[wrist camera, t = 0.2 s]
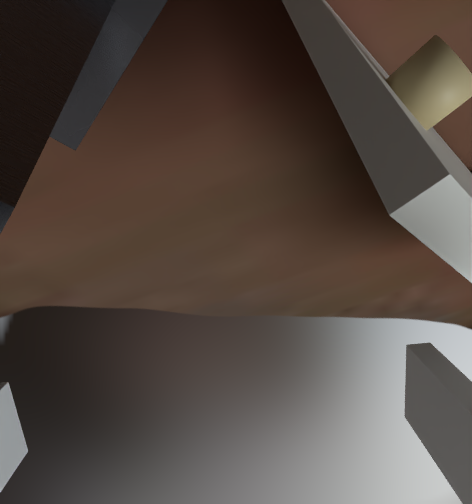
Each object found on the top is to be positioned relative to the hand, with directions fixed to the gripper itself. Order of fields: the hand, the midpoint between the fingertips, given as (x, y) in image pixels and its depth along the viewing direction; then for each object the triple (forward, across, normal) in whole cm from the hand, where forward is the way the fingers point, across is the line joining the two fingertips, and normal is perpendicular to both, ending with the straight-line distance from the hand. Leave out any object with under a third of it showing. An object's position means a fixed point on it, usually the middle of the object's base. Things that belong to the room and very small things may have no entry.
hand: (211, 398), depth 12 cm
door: (+11, +11, +10) cm, 18 cm away
